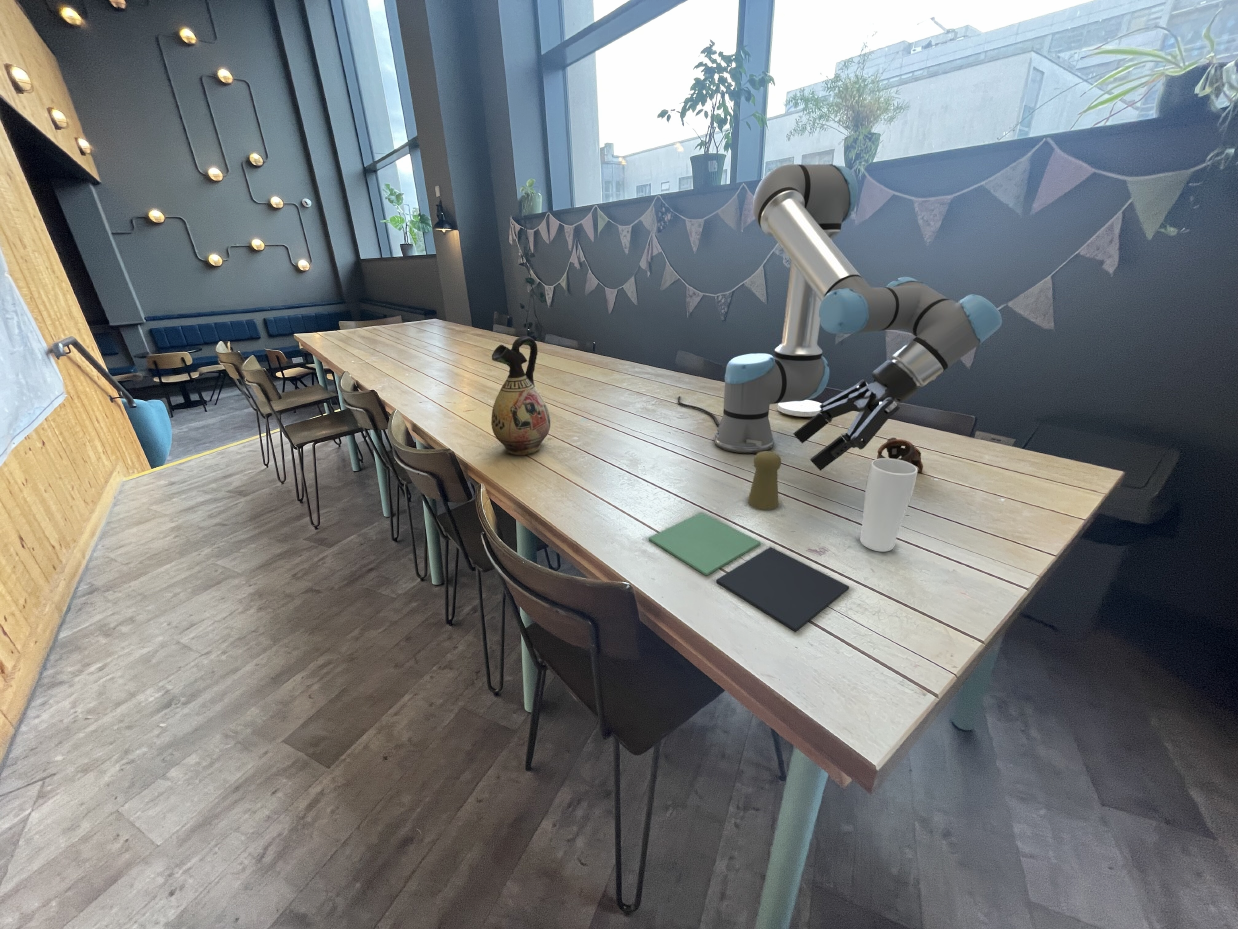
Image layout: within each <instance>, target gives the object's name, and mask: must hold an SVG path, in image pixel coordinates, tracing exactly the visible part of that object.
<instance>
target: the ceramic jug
mask: <svg viewBox="0 0 1238 929" xmlns="http://www.w3.org/2000/svg"><path fill="white" fill-rule="evenodd" d="M511 345H512V346H511V349H510V348H509V347H508V346H505V345H504V344H499V345H498V346H497V347H496V348H495V349H494V350H493V352H492V354H491V361H493V362H496V363H500V364H503V365H505V366H507V367H509V370H508V375H507V377H506V379H505V381H504V382H503V384H502V386H501V388H500V389H499V392H498V394H497V395H496V398H495V401H494V403H493V406H492V410H491V421H490V423H491V424H490V426H491V430H492V433H493V435H494V437H495V438H496V440H497V441H498V442H499V443H500V444H501V445H502V446H503V447H504V448H505V451H506V454H511V455H515V456H526V455H530V454H533V453H536V452H538V451H539V450H540V449H541V446H542V445H541V444H542V443H543V441H544V440H545V439H546V438H547V436H548V435H549V432H550V429H551V416H550V411H549V408H548V405H547V403H546V401H545V399H544V398H543V397H542V395H541V393H540V392H539V390H538V389H537V387H536V385H535V379H534V372H535V369H536V363H537V358H538V355H539V354H538V345H537V342H536V340H535V339H534V338H532V337H530V336H528V335H523V336H519V337H518V338H516V339H515V340H514V341H513V343H512V344H511ZM522 346H527V347H529V356H528V359H527V358H526V356H525V355H524V353H523V352H521V351H520V348H521V347H522ZM526 363H527V367H526V370H524V368H523V364H526Z"/></svg>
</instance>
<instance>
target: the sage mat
mask: <svg viewBox="0 0 1238 929" xmlns="http://www.w3.org/2000/svg"><path fill="white" fill-rule="evenodd" d="M648 541H650V542H651V543H653V544H655V545H656V546H658V547H660V548H661V549H662V550H664V551H666V552H668V553H669V554H671V555H672V556H674V557H675V558H677V559H679V560H680V561H682V562H683V563H685V564H687V565H688V566H690V567H691V568H693V569H694V570H696V571H698V572H699V573H701V574H703V575H704V576H706V577H708V576H709V575H710V574H712V573H714V572H716V571H718V570H719V569H721V568H723V567H724V566H726V565H728V564H730V563H731V562H733V561H734V560H736V559H738V558H740V557H741V556H743V555H744V554H745V555H746V553H749V552H750V551H751V550H753V549H755V548H757V547H758V546H760V545H761V544H762V542H761V540H758V539H756V538H754V537H752V536H750V535H749V534H748V535H747V534H746V533H744V532H742V531H740V530H738V529H735V528H733V527H732V526H730V525H727V524H726V523H723V522H722V521H720V520H718V519H715V518H713V517H712V516H710V515H707V514H705V513H704V512H700V513H698V514H696V515H693V516H691V517H689V518H687V519H684V520H683V521H680V522H678V523H676V524H674V525H672V526H670V527H668V528H666V529H664V530H662V531H659V532H657V533H655V534H653V535H651V536H649V537H648Z"/></svg>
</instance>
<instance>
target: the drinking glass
mask: <svg viewBox="0 0 1238 929" xmlns="http://www.w3.org/2000/svg"><path fill="white" fill-rule="evenodd" d="M898 459H899V458H898ZM898 459H891V458H889V457H886V458H880V459H877V458H876V459H874V460H872V461H871V462H870V466H869V469H868V474H867V478H866V485H865V492H864V503H863V512H862V521H861V522H862V524H861V531H860V536H859V539H860V540H859V541H860V543H861V544H862V546H864V547H866V548H867V549H869V550H872V551H876V552H883V553H885V552H889V551H892V550H893V549H894V548H895V545H896V542H897V538H898V534H899V532H900V530H901V526H902V524H903V521H904V518H905V515H906V513H907V510H908V507H909V505H910V502H911V499H912V496H913V493H914V490H915V487H916V486H915V485H916V481H917V476H918V471H919V469H918V467H916V466H914V465H913V464H911V463H908V462H906V461H902V460H898Z"/></svg>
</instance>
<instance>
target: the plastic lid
mask: <svg viewBox="0 0 1238 929" xmlns="http://www.w3.org/2000/svg"><path fill="white" fill-rule="evenodd" d="M821 404H822V403H821V402H818V401H815V400H812V399H807V400H804V401H793V402H785V403H777V410H778V412H780V413H782V414H786V415H789V416H795V417H814V416H816V415H817V414H818V413H820V412H819V411H820V409H821V408H820V407H819V406H820V405H821Z"/></svg>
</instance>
